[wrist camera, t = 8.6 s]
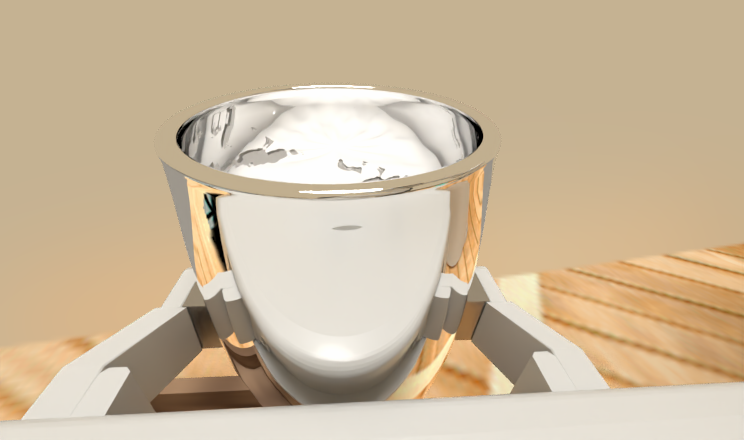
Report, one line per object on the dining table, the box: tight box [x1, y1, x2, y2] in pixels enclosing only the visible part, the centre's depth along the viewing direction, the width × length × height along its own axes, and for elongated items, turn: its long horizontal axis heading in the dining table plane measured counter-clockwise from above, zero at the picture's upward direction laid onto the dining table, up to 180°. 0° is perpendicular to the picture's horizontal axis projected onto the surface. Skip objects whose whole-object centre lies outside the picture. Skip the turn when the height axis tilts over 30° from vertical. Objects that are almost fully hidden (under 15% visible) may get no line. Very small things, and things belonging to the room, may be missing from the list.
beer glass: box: [154, 83, 501, 407], centre depth 11 cm, size 7×7×15 cm
